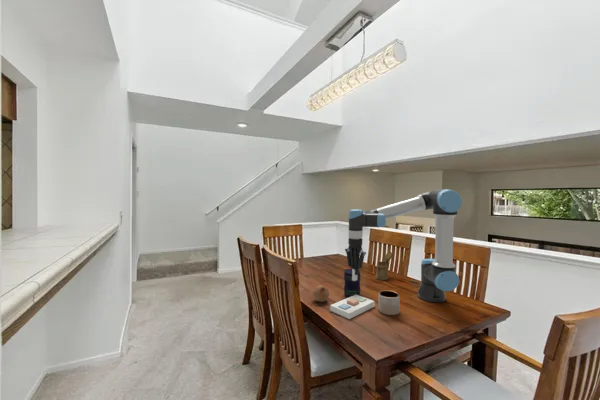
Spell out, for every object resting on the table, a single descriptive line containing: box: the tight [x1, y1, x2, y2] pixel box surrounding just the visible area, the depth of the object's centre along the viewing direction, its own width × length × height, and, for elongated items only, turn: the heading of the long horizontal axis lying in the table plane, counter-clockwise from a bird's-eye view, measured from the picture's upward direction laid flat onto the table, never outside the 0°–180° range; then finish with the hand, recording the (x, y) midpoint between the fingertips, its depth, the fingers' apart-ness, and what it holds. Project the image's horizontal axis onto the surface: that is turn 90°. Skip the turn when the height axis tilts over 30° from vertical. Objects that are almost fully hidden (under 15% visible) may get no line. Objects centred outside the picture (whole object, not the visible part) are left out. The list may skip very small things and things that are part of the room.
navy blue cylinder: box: [343, 268, 361, 298], centre depth 173 cm, size 10×10×15 cm
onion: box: [312, 285, 330, 303], centre depth 165 cm, size 10×9×10 cm
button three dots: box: [347, 298, 359, 306], centre depth 154 cm, size 5×5×3 cm
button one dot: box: [338, 304, 351, 310], centre depth 150 cm, size 5×5×3 cm
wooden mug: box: [375, 251, 393, 281], centre depth 204 cm, size 9×14×18 cm, turn 118°
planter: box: [377, 289, 401, 316], centre depth 150 cm, size 11×11×10 cm
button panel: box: [329, 295, 376, 320], centre depth 154 cm, size 13×22×3 cm, turn 131°
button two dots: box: [356, 296, 368, 302], centre depth 159 cm, size 5×5×3 cm
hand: (354, 280), depth 156 cm, fingers closed
